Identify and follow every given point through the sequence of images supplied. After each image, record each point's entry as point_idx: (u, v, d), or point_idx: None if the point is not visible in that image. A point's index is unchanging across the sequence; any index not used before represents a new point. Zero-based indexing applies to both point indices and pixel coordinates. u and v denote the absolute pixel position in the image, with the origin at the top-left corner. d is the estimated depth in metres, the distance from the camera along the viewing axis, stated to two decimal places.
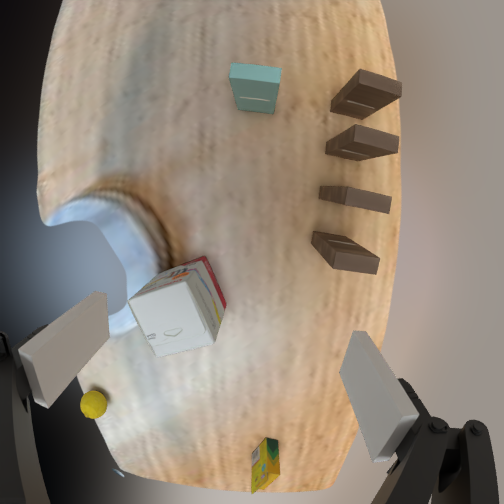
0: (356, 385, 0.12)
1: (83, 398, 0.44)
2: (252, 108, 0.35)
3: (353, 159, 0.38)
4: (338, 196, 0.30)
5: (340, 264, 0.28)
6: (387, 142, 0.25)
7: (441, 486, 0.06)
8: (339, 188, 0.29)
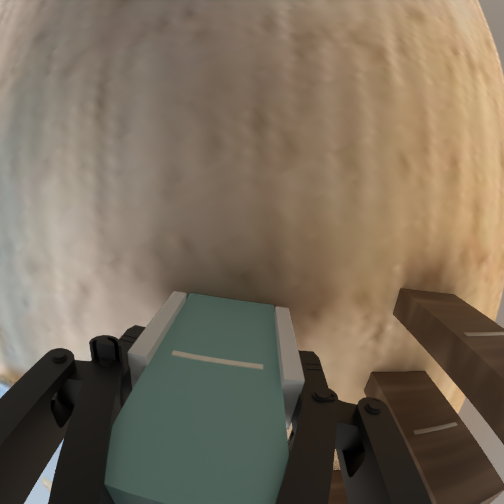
0: None
1: None
2: None
3: None
4: None
5: None
6: None
7: (350, 469, 0.07)
8: None
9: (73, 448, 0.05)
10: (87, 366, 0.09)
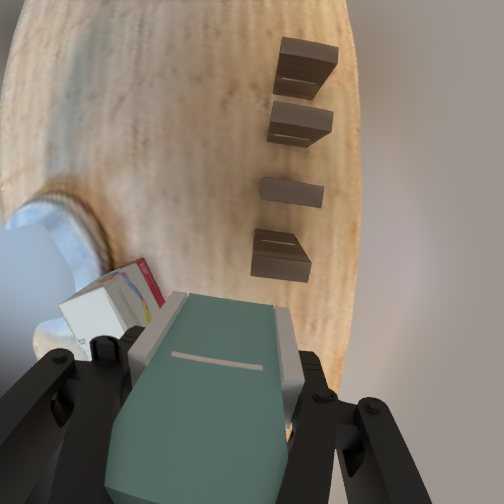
0: None
1: None
2: None
3: (299, 145, 0.33)
4: (261, 189, 0.26)
5: (259, 270, 0.25)
6: (316, 119, 0.21)
7: (350, 469, 0.07)
8: None
9: (73, 448, 0.05)
10: (87, 366, 0.09)
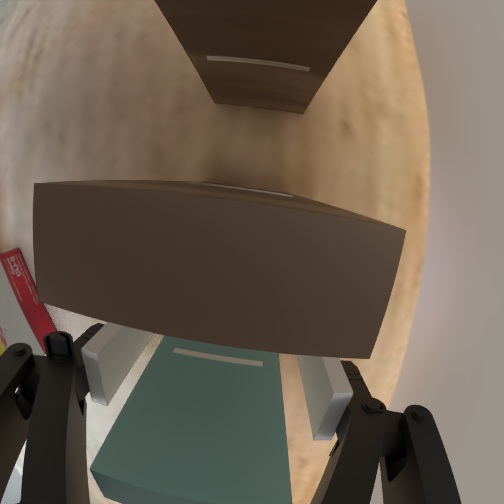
0: (306, 366, 0.13)
1: None
2: None
3: None
4: None
5: (68, 276, 0.03)
6: None
7: (390, 474, 0.07)
8: None
9: (37, 443, 0.04)
10: (45, 361, 0.08)
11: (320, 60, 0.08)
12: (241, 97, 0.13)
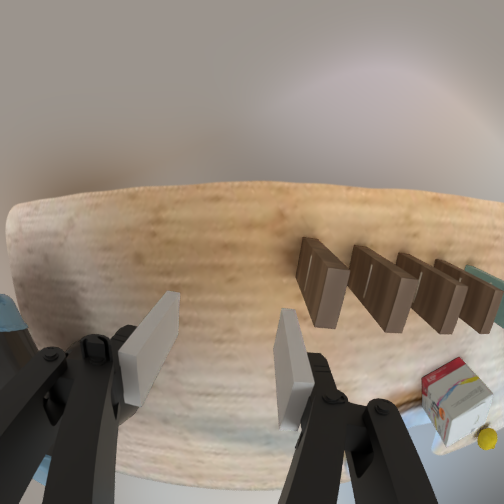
0: (278, 358, 0.14)
1: (481, 447, 0.39)
2: None
3: None
4: None
5: (488, 327, 0.22)
6: (407, 293, 0.21)
7: (358, 470, 0.07)
8: (427, 321, 0.25)
9: (65, 447, 0.05)
10: (78, 365, 0.09)
11: None
12: None
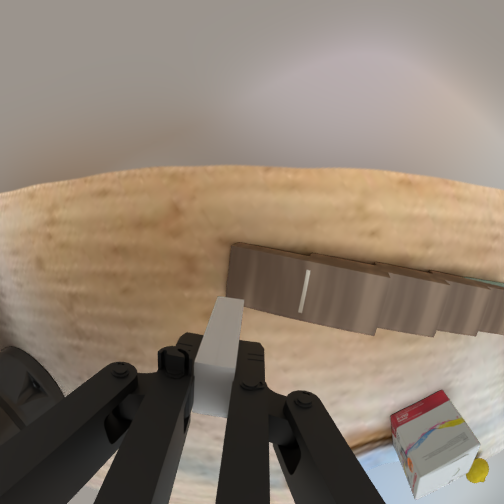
0: None
1: (469, 480, 0.30)
2: None
3: None
4: None
5: None
6: None
7: (290, 466, 0.07)
8: None
9: (127, 461, 0.05)
10: (149, 379, 0.09)
11: None
12: None
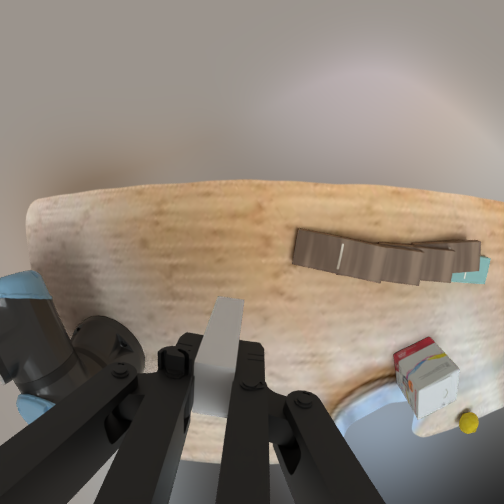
0: None
1: (462, 430, 0.46)
2: None
3: None
4: None
5: None
6: None
7: (290, 466, 0.07)
8: (434, 281, 0.38)
9: (127, 461, 0.05)
10: (149, 379, 0.09)
11: None
12: None
